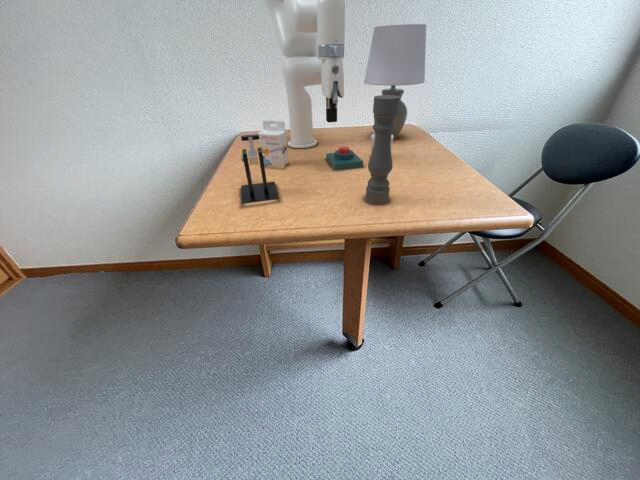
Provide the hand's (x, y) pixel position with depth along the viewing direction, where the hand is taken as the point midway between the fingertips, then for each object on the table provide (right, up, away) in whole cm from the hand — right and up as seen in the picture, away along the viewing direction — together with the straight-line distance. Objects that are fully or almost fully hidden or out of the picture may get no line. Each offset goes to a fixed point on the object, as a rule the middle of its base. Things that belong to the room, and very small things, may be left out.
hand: (331, 121), depth 89 cm
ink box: (-20, -12, +10) cm, 25 cm away
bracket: (-21, -25, -10) cm, 34 cm away
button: (+5, -8, +8) cm, 12 cm away
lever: (-23, -14, -12) cm, 29 cm away
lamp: (+27, +8, +36) cm, 46 cm away
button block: (+5, -11, +10) cm, 15 cm away
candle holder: (+12, -27, -14) cm, 33 cm away
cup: (+18, -9, +13) cm, 24 cm away
